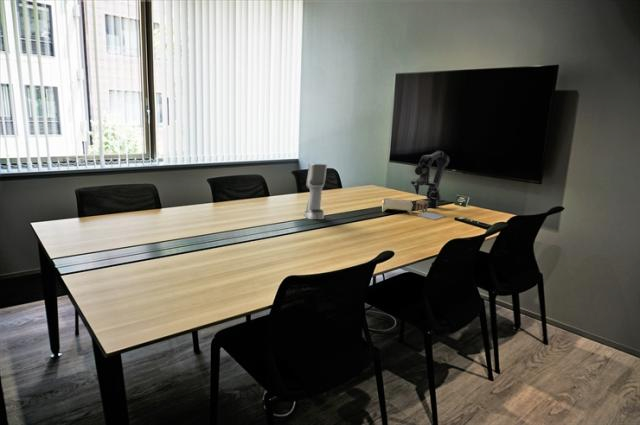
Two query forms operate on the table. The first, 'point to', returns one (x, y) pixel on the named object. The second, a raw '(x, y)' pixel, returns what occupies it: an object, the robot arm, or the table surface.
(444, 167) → the robot arm
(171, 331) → the table surface
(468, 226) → the table surface
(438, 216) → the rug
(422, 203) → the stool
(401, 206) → the toy sofa
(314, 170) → the thermal camera
